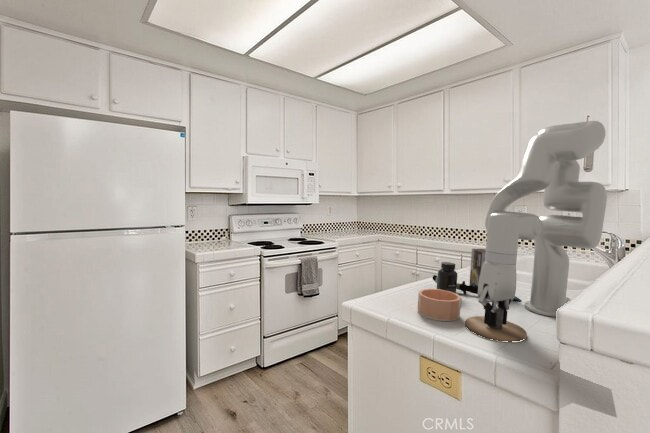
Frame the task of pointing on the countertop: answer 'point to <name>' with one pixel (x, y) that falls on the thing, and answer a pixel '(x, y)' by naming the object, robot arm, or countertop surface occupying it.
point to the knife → (471, 288)
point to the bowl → (439, 304)
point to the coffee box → (476, 265)
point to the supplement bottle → (447, 277)
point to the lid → (496, 328)
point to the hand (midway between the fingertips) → (495, 323)
